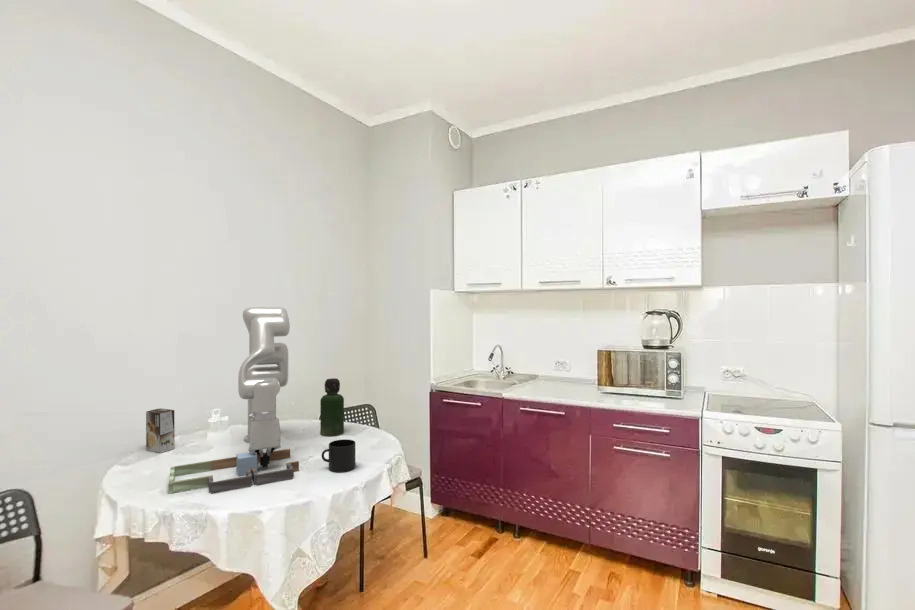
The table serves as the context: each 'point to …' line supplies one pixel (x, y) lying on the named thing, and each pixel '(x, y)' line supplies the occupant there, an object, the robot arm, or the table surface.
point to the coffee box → (160, 430)
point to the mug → (341, 455)
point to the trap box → (229, 483)
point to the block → (245, 462)
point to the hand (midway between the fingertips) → (264, 466)
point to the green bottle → (332, 409)
